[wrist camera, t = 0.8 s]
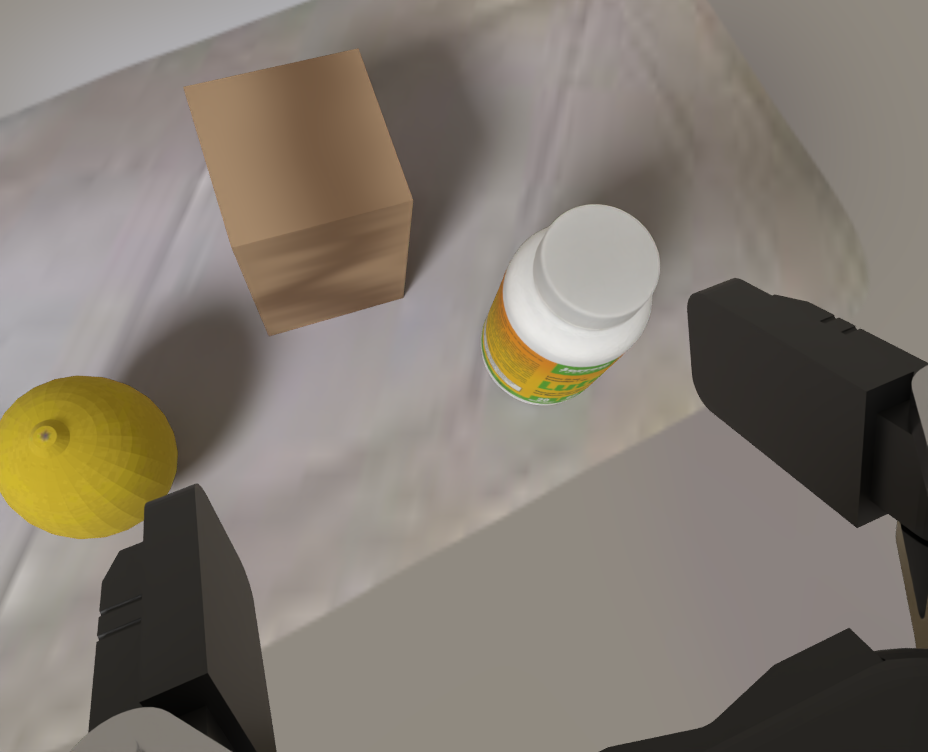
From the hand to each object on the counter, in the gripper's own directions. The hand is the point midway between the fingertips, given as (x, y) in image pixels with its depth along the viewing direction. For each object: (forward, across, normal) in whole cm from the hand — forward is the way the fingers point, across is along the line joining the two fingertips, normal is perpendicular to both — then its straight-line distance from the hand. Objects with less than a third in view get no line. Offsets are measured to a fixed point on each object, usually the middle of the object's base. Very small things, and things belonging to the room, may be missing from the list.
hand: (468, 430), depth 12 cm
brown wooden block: (+23, 0, +5) cm, 24 cm away
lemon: (+19, +10, +10) cm, 23 cm away
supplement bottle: (+18, -8, +11) cm, 23 cm away
